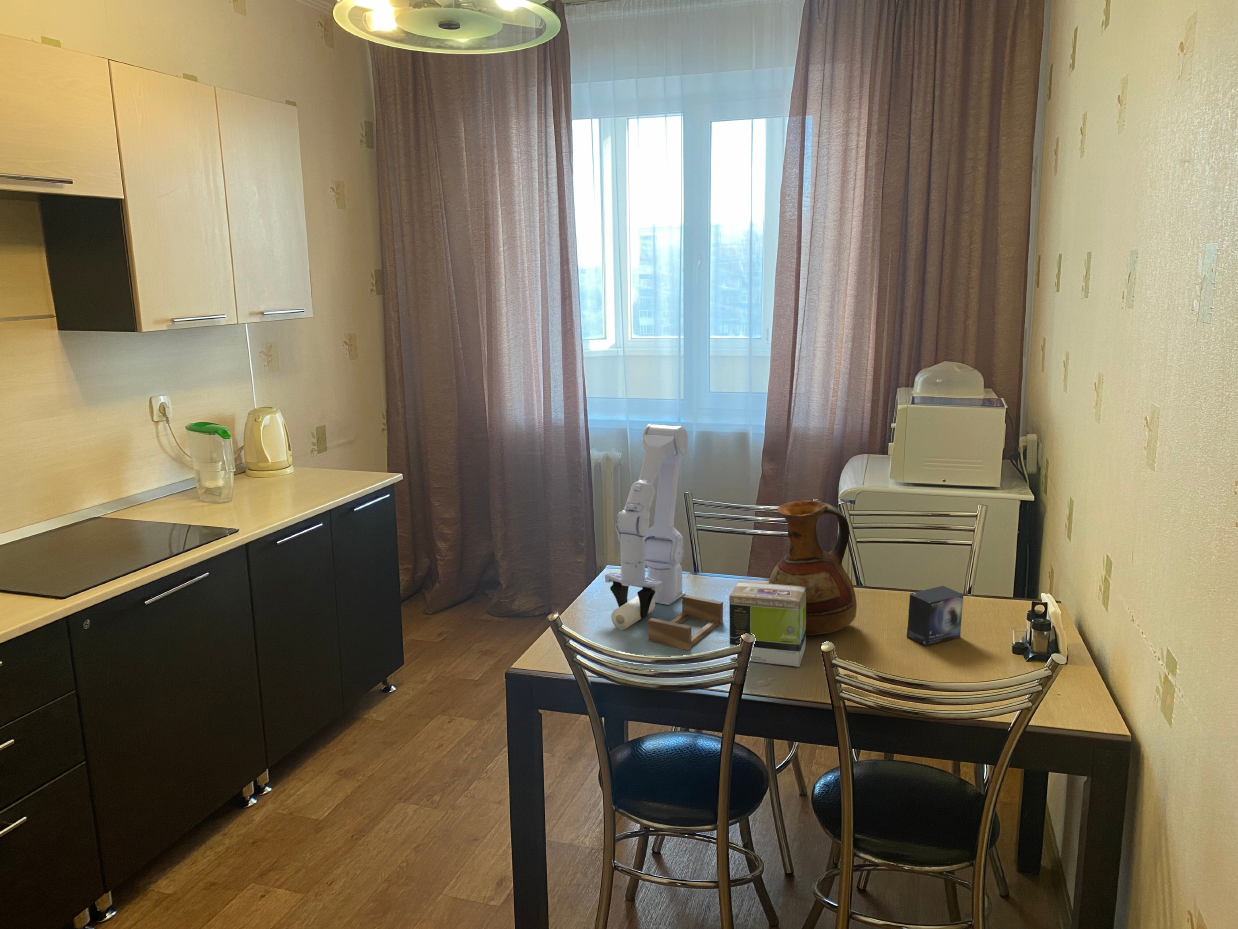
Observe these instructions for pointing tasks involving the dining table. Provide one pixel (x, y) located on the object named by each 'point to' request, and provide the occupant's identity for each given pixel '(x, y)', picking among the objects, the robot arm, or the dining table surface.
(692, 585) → the dining table surface
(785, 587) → the tea box
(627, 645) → the dining table surface
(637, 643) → the dining table surface
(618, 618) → the cylinder
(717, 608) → the holder
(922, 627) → the small box
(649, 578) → the robot arm
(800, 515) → the ceramic pitcher
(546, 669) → the dining table surface
